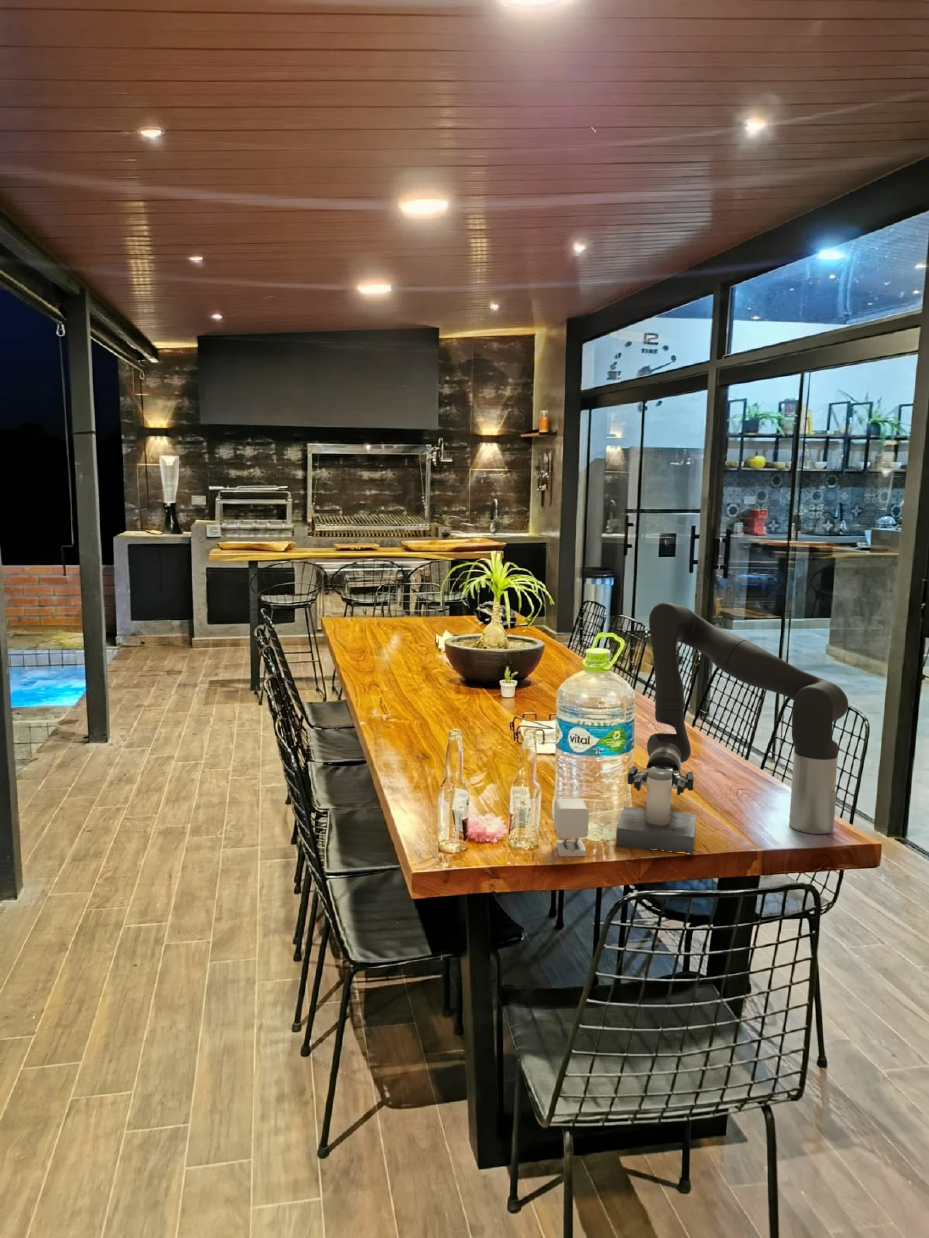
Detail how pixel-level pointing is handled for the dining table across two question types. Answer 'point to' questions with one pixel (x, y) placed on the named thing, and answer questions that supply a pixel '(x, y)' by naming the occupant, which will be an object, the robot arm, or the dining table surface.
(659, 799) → the canister
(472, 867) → the dining table surface
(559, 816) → the security camera
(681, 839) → the block
